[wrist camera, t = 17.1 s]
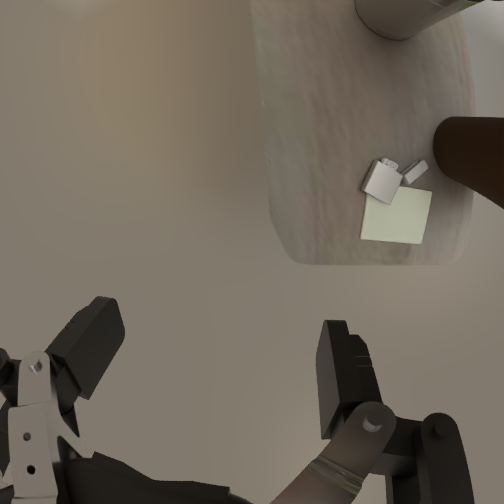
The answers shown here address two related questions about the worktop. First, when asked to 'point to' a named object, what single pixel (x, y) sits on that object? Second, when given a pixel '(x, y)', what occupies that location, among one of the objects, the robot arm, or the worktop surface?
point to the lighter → (390, 178)
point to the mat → (397, 216)
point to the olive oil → (473, 154)
